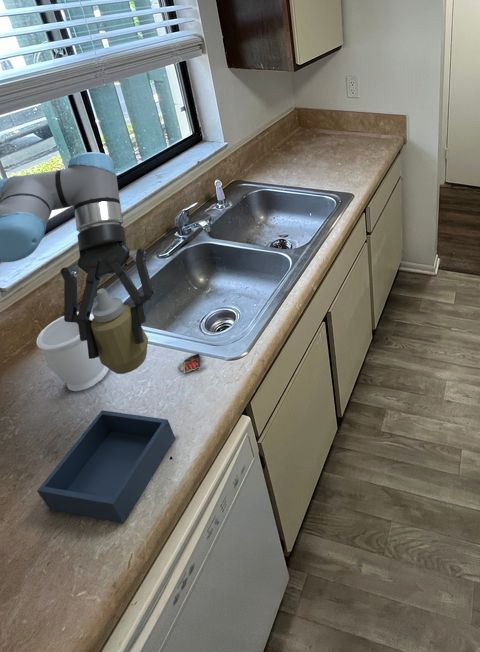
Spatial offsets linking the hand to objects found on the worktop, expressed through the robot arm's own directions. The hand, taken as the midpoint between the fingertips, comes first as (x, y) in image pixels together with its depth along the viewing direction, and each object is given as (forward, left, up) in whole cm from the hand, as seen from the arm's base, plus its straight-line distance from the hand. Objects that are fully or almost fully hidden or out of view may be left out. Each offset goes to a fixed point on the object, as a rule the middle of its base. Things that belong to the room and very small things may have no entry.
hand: (117, 350), depth 79 cm
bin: (-2, -8, -24) cm, 25 cm away
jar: (-24, +10, -24) cm, 36 cm away
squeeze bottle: (-2, +3, -7) cm, 8 cm away
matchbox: (-2, +16, -24) cm, 29 cm away
